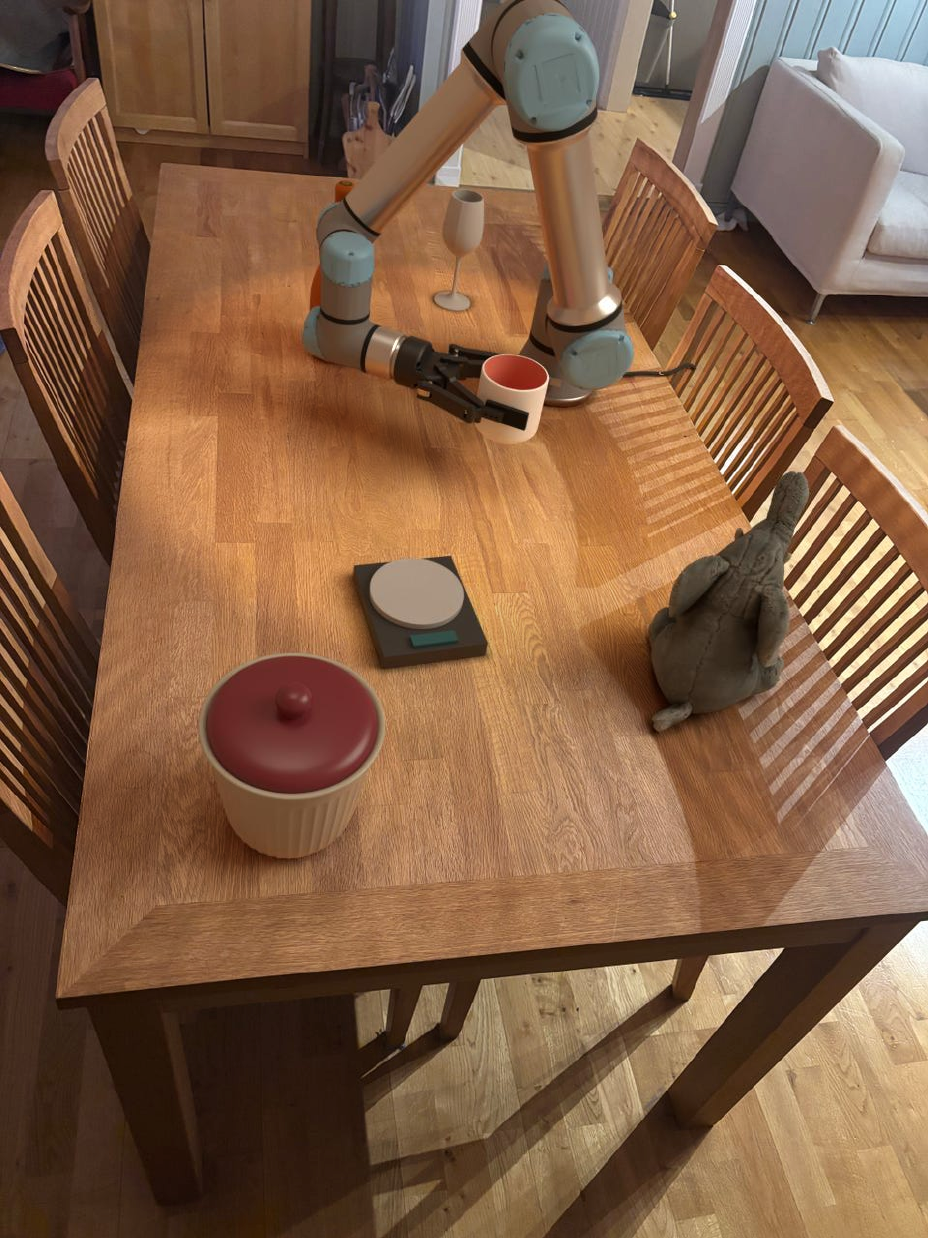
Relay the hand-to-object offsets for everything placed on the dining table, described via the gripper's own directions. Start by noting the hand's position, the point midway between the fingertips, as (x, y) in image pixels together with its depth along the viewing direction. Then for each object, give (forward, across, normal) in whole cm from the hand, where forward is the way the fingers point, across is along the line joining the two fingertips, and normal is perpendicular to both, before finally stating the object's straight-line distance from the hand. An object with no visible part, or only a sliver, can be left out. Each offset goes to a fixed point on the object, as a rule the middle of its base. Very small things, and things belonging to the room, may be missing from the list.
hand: (537, 404), depth 144 cm
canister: (-4, +70, -14) cm, 72 cm away
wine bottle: (-41, -18, -15) cm, 47 cm away
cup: (-4, 0, -6) cm, 8 cm away
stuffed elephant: (+35, +27, -15) cm, 47 cm away
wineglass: (-31, -48, -15) cm, 59 cm away
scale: (-3, +36, -14) cm, 39 cm away
